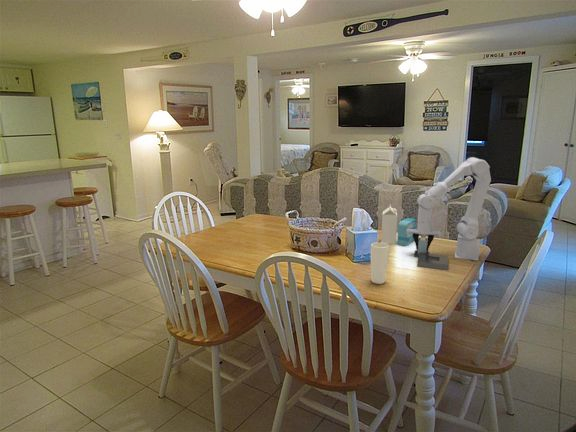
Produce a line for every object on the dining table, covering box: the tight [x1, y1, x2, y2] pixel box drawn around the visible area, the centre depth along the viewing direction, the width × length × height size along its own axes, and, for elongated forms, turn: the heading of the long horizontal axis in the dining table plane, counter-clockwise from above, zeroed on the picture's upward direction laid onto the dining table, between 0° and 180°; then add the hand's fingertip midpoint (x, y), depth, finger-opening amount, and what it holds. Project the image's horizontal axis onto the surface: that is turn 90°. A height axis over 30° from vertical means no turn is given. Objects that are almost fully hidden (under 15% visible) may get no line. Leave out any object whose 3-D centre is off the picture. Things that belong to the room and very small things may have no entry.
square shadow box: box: [413, 249, 431, 258], centre depth 184 cm, size 6×6×2 cm
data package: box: [396, 217, 417, 247], centre depth 200 cm, size 12×4×12 cm, turn 142°
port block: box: [416, 252, 449, 271], centre depth 174 cm, size 12×12×3 cm
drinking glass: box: [370, 241, 390, 285], centre depth 155 cm, size 7×7×15 cm
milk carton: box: [380, 203, 398, 245], centre depth 201 cm, size 7×7×19 cm
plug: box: [418, 235, 428, 255], centre depth 183 cm, size 4×4×8 cm
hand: (422, 250), depth 183 cm, fingers closed on plug, 4 cm apart
